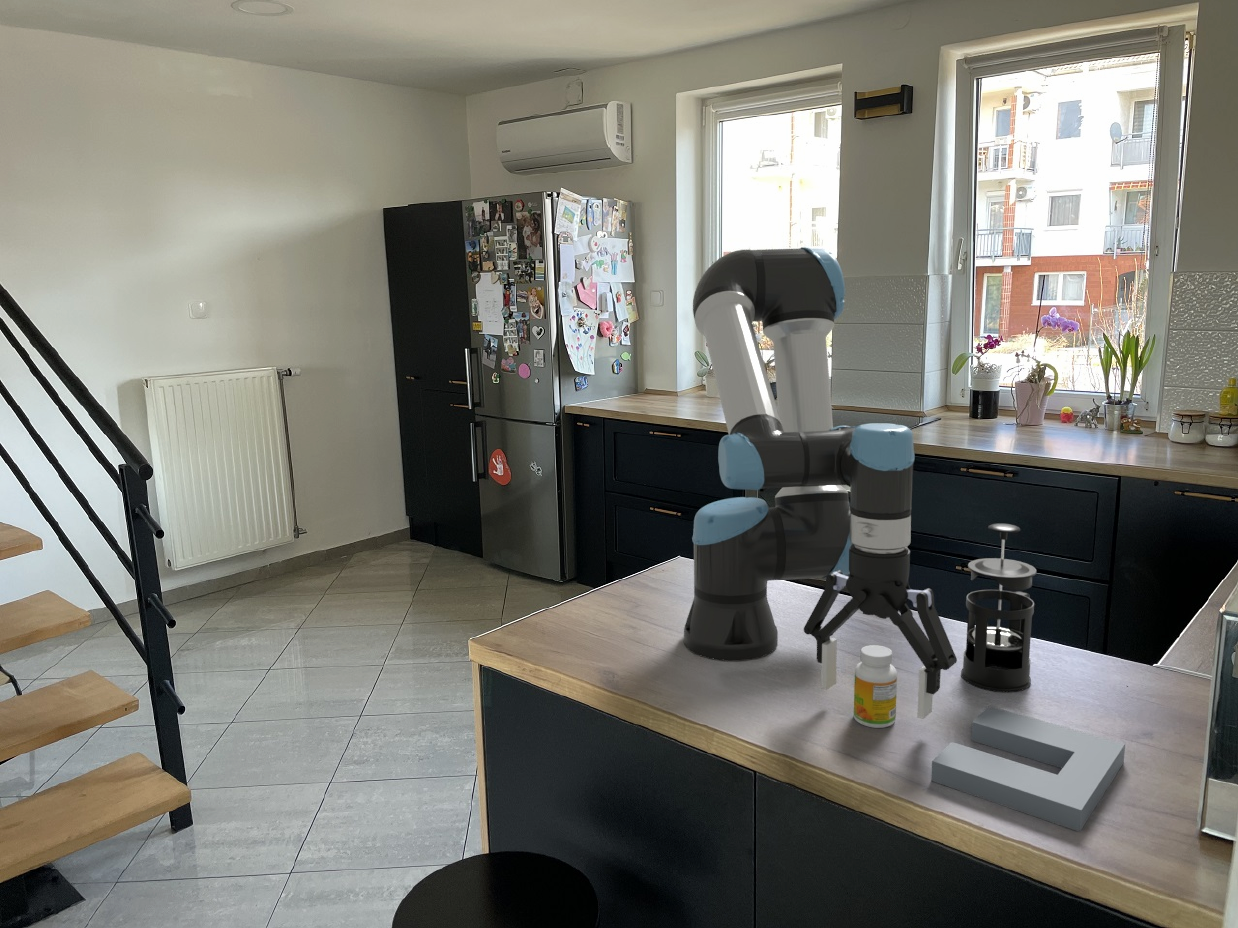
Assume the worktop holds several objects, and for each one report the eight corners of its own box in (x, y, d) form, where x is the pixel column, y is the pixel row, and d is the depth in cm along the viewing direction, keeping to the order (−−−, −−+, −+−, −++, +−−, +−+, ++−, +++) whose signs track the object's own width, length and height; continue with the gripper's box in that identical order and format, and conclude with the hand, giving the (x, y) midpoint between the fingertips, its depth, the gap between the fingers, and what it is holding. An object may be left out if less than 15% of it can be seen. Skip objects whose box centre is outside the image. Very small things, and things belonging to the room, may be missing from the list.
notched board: (931, 780, 106) (932, 760, 105) (987, 723, 119) (988, 705, 118) (1079, 831, 95) (1081, 810, 95) (1123, 762, 109) (1125, 743, 108)
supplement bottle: (847, 711, 123) (849, 643, 122) (886, 708, 124) (888, 641, 122) (861, 730, 118) (863, 660, 116) (901, 727, 119) (904, 657, 117)
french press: (1004, 699, 125) (1014, 539, 121) (945, 677, 133) (952, 525, 129) (1050, 677, 132) (1060, 523, 128) (991, 657, 140) (999, 511, 135)
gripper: (779, 536, 122) (778, 684, 126) (965, 570, 105) (957, 739, 110) (808, 524, 127) (806, 666, 131) (988, 555, 111) (980, 716, 115)
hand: (874, 700), depth 120 cm, fingers open, 13 cm apart
